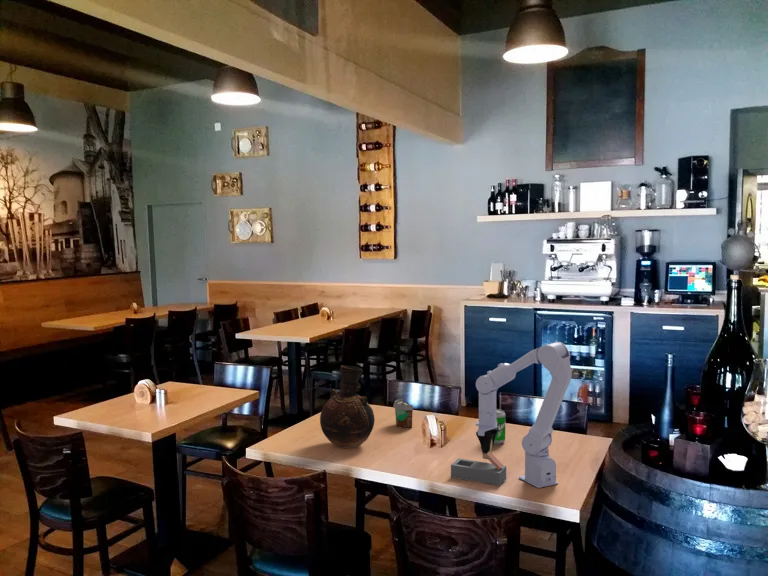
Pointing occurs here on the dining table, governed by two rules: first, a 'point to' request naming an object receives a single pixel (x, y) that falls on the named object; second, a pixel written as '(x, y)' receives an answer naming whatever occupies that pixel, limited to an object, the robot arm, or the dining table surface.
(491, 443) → the brass pin
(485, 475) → the block
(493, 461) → the bar
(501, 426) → the soda can
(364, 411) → the ceramic vessel
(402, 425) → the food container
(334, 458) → the dining table surface
